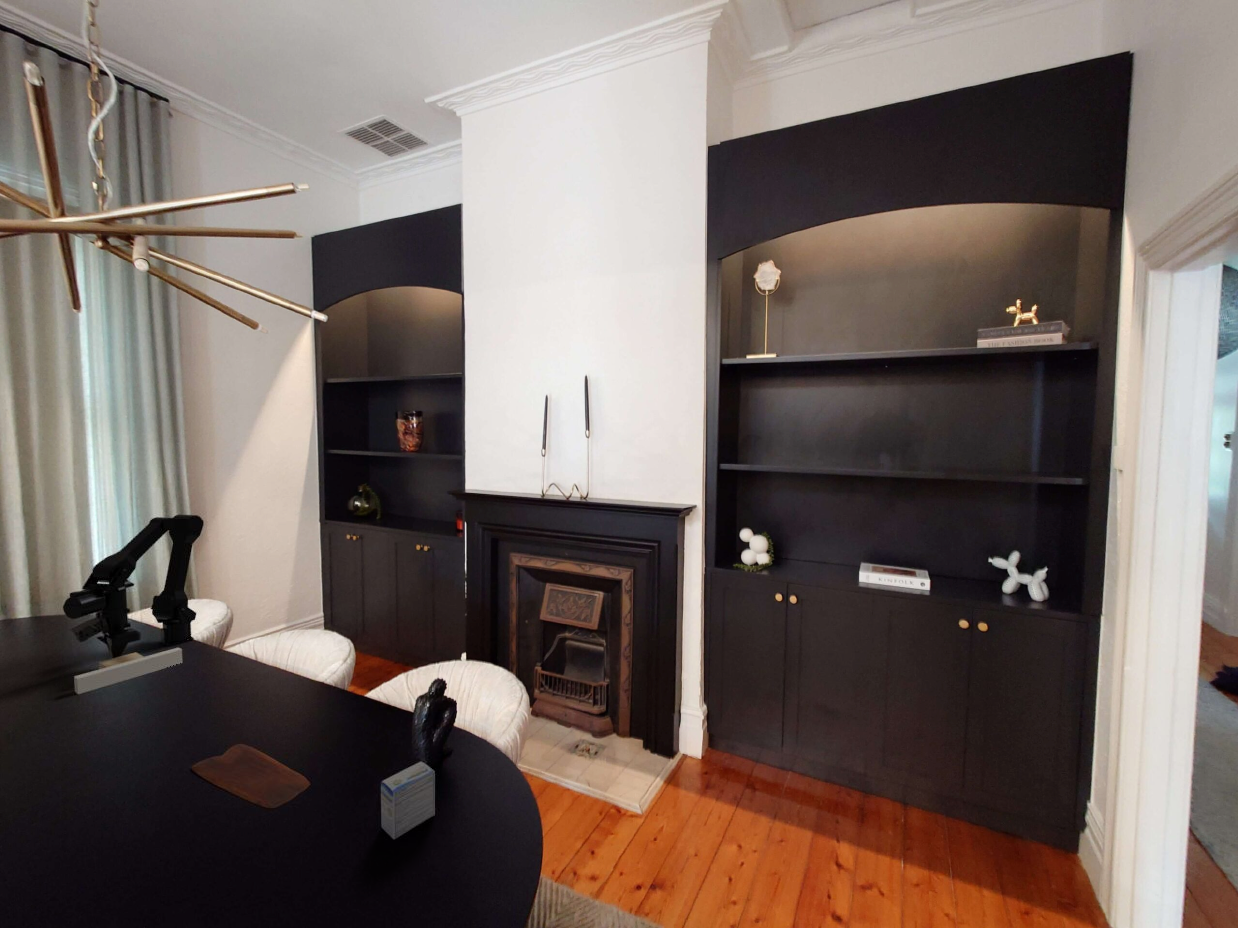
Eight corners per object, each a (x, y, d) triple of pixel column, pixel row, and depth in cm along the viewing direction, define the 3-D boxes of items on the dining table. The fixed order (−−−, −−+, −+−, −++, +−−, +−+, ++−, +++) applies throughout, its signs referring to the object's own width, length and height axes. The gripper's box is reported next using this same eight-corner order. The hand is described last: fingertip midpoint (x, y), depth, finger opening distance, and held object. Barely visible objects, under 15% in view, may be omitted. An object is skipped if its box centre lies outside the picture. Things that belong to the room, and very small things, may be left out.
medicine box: (422, 804, 103) (421, 759, 102) (435, 815, 100) (435, 769, 99) (380, 828, 97) (379, 780, 96) (394, 841, 94) (393, 791, 93)
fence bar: (178, 660, 160) (178, 647, 160) (182, 662, 159) (181, 649, 159) (75, 691, 142) (74, 676, 141) (78, 694, 140) (77, 678, 140)
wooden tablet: (186, 772, 112) (186, 764, 112) (240, 747, 121) (239, 739, 120) (266, 817, 99) (265, 808, 99) (319, 785, 108) (318, 777, 108)
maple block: (136, 664, 159) (135, 652, 159) (145, 669, 156) (144, 657, 155) (99, 674, 152) (98, 662, 152) (107, 680, 149) (107, 667, 149)
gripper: (62, 607, 153) (65, 663, 154) (85, 621, 143) (88, 680, 144) (115, 597, 162) (117, 649, 163) (140, 610, 152) (142, 665, 153)
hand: (115, 661), depth 156 cm, fingers closed
